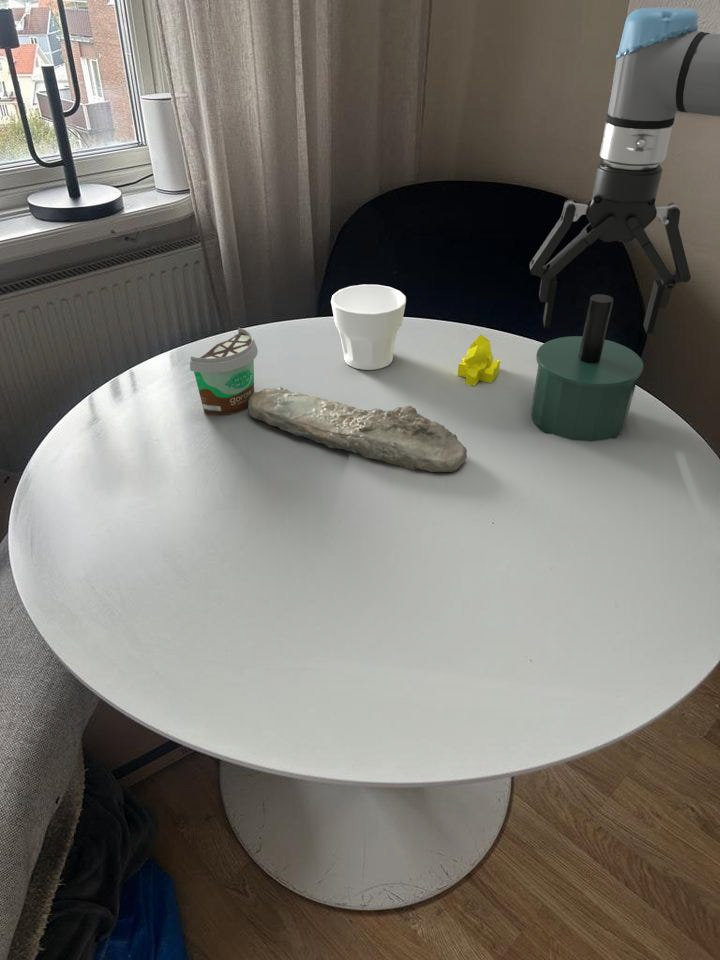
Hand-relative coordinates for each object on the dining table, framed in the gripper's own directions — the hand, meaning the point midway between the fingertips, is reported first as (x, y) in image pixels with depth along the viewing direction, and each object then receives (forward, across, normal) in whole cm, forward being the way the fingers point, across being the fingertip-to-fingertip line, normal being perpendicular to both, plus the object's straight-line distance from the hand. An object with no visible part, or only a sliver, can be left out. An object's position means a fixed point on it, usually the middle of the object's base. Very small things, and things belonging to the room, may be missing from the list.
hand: (596, 326), depth 98 cm
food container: (+15, -52, -3) cm, 54 cm away
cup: (+15, -34, +15) cm, 40 cm away
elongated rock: (+15, -33, -10) cm, 38 cm away
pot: (+15, 0, 0) cm, 15 cm away
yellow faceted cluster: (+15, -15, +12) cm, 25 cm away
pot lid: (+6, 0, 0) cm, 6 cm away
